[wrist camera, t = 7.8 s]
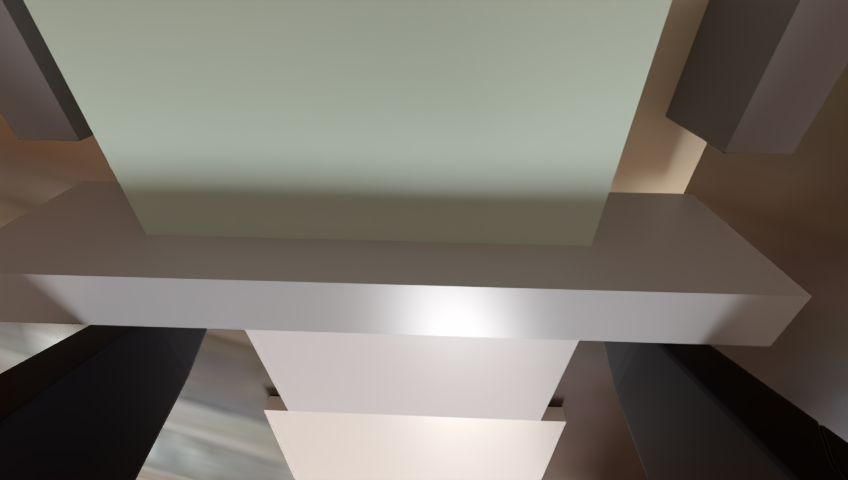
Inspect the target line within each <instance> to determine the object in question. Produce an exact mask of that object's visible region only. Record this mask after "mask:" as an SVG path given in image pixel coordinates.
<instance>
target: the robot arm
mask: <svg viewBox="0 0 848 480" xmlns="http://www.w3.org/2000/svg"><path fill="white" fill-rule="evenodd" d="M206 331H207V328H179V327H148V326H117V325H90V326H88V327H86V328H84V329H82V330H80V331H78V332H77V333H75V334H73V335H71V336H69V337H67V338H66V339H64V340H62V341H60V342H58V343H56V344H54V345H53V346H51V347H49V348H47V349H45V350H43V351H42V352H40V353H38V354H36V355H34V356H32V357H30V358H29V359H27V360H25V361H23V362H21V363H19V364H18V365H16V366H14V367H12V368H10V369H8V370H6V371H5V372H3V373H1V374H0V480H136V478H137V476H138V474H139V472H140V470H141V468H142V466H143V464H144V462H145V460H146V458H147V456H148V455H149V453H150V451H151V449H152V447H153V445H154V443H155V441H156V439H157V437H158V435H159V433H160V431H161V429H162V427H163V425H164V423H165V421H166V419H167V418H168V416H169V414H170V412H171V410H172V408H173V406H174V404H175V402H176V400H177V398H178V396H179V394H180V392H181V390H182V388H183V386H184V384H185V382H186V380H187V378H188V376H189V374H190V371H191V369H192V367H193V364H194V362H195V359H196V357H197V354H198V352H199V349H200V346H201V344H202V341H203V339H204V336H205V333H206ZM603 344H604V348H605V352H606V356H607V360H608V364H609V368H610V372H611V376H612V380H613V384H614V387H615V391H616V394H617V397H618V400H619V403H620V405H621V408H622V411H623V413H624V416H625V419H626V422H627V424H628V427H629V430H630V432H631V435H632V438H633V441H634V443H635V446H636V449H637V451H638V454H639V457H640V460H641V462H642V465H643V468H644V470H645V473H646V476H647V479H648V480H848V443H847V442H846V441H845V440H843V439H842V438H840V437H839V436H838V435H836V434H835V433H833V432H832V431H831V430H829V429H828V428H826V427H825V426H822V425H820V426H819V423H818V422H817V421H816V420H815V419H813V418H812V417H811V416H809V415H808V414H806V413H805V412H804V411H802V410H801V409H799V408H798V407H797V406H795V405H794V404H792V403H791V402H790V401H788V400H787V399H785V398H784V397H782V396H781V395H780V394H778V393H777V392H775V391H774V390H773V389H771V388H770V387H768V386H767V385H766V384H764V383H763V382H761V381H760V380H759V379H757V378H756V377H754V376H753V375H751V374H750V373H749V372H747V371H746V370H744V369H743V368H742V367H740V366H739V365H737V364H736V363H735V362H733V361H732V360H730V359H729V358H728V357H726V356H725V355H723V354H722V353H721V352H719V351H718V350H716V349H715V348H713V347H712V346H711V345H708V344H676V343H645V342H614V341H603Z"/></svg>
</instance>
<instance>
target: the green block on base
mask: <svg viewBox="0 0 848 480" xmlns="http://www.w3.org/2000/svg"><path fill="white" fill-rule="evenodd" d="M23 1H24V3H25V5H26V6H27V8H28V10H29V12H30V14H31V16H32V18H33V20H34V22H35V24H36V26H37V27H38V29H39V31H40V33H41V35H42V37H43V39H44V41H45V43H46V45H47V47H48V48H49V50H50V52H51V54H52V56H53V58H54V60H55V62H56V64H57V66H58V68H59V69H60V71H61V73H62V75H63V77H64V79H65V81H66V83H67V85H68V87H69V88H70V90H71V92H72V94H73V96H74V98H75V100H76V102H77V104H78V106H79V108H80V109H81V111H82V113H83V115H84V117H85V119H86V121H87V123H88V125H89V127H90V129H91V130H92V132H93V134H94V136H95V138H96V140H97V142H98V144H99V146H100V148H101V149H102V151H103V153H104V155H105V157H106V159H107V161H108V163H109V165H110V167H111V169H112V170H113V172H114V174H115V176H116V178H117V180H118V182H94V181H83V182H81V183H79V184H77V185H76V186H74V187H72V188H70V189H69V190H67V191H65V192H63V193H62V194H60V195H58V196H56V197H54V198H53V199H51V200H49V201H47V202H46V203H44V204H42V205H40V206H39V207H37V208H35V209H33V210H31V211H30V212H28V213H26V214H24V215H23V216H21V217H19V218H17V219H16V220H14V221H12V222H10V223H8V224H7V225H5V226H3V227H1V228H0V322H24V323H55V324H86V325H117V326H148V327H179V328H210V329H241V330H273V331H304V332H335V333H366V334H397V335H428V336H459V337H490V338H521V339H552V340H583V341H614V342H645V343H676V344H708V345H739V346H771V345H772V343H773V342H774V341H775V340H776V339H777V338H778V336H779V335H780V334H781V333H782V332H783V330H784V329H785V328H786V327H787V326H788V324H789V323H790V322H791V321H792V320H793V319H794V317H795V316H796V315H797V314H798V313H799V311H800V310H801V309H802V308H803V307H804V305H805V304H806V303H807V302H808V301H809V299H810V298H811V297H812V296H811V295H810V294H809V293H807V292H806V291H805V290H804V289H803V288H802V287H800V286H799V285H798V284H797V283H796V282H795V281H793V280H792V279H791V278H790V277H789V276H788V275H786V274H785V273H784V272H783V271H782V270H781V269H779V268H778V267H777V266H776V265H775V264H774V263H772V262H771V261H770V260H769V259H768V258H766V257H765V256H764V255H763V254H762V253H761V252H759V251H758V250H757V249H756V248H755V247H754V246H752V245H751V244H750V243H749V242H748V241H747V240H745V239H744V238H743V237H742V236H741V235H740V234H738V233H737V232H736V231H735V230H734V229H733V228H731V227H730V226H729V225H728V224H727V223H726V222H724V221H723V220H722V219H721V218H720V217H719V216H717V215H716V214H715V213H714V212H713V211H712V210H710V209H709V208H708V207H707V206H706V205H705V204H703V203H702V202H701V201H700V200H699V199H698V198H696V197H695V196H694V195H693V194H675V193H627V192H609V191H610V188H611V185H612V182H613V179H614V176H615V173H616V170H617V167H618V163H619V160H620V157H621V154H622V151H623V148H624V145H625V142H626V139H627V136H628V133H629V130H630V127H631V124H632V121H633V118H634V115H635V112H636V109H637V106H638V103H639V100H640V97H641V94H642V91H643V88H644V85H645V82H646V79H647V75H648V72H649V69H650V66H651V63H652V60H653V57H654V54H655V51H656V48H657V45H658V42H659V39H660V36H661V33H662V30H663V27H664V24H665V21H666V18H667V15H668V12H669V9H670V6H671V3H672V0H23Z"/></svg>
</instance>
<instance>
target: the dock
mask: <svg viewBox="0 0 848 480" xmlns="http://www.w3.org/2000/svg"><path fill="white" fill-rule="evenodd" d="M847 64H848V0H672V3H671V6H670V9H669V12H668V15H667V18H666V21H665V24H664V27H663V30H662V33H661V36H660V39H659V42H658V45H657V48H656V51H655V54H654V57H653V60H652V63H651V66H650V69H649V72H648V75H647V79H646V82H645V85H644V88H643V91H642V94H641V97H640V100H639V103H638V106H637V109H636V112H635V115H634V118H633V121H632V124H631V127H630V130H629V133H628V136H627V139H626V142H625V145H624V148H623V151H622V154H621V157H620V160H619V163H618V167H617V170H616V173H615V176H614V179H613V182H612V185H611V188H610V191H609V192H627V193H675V194H684V191H685V189H686V187H687V185H688V183H689V181H690V178H691V176H692V174H693V172H694V170H695V168H696V165H697V163H698V161H699V159H700V157H701V155H702V152H703V150H704V148H705V146H706V144H707V142H708V143H709V144H711V145H712V146H714V147H716V148H717V149H719V150H721V151H722V152H724V153H762V154H793V152H794V151H795V149H796V147H797V146H798V144H799V143H800V141H801V139H802V138H803V136H804V134H805V133H806V131H807V130H808V128H809V126H810V125H811V123H812V121H813V120H814V118H815V116H816V115H817V113H818V112H819V110H820V108H821V107H822V105H823V103H824V102H825V100H826V98H827V97H828V95H829V94H830V92H831V90H832V89H833V87H834V85H835V84H836V82H837V81H838V79H839V77H840V76H841V74H842V72H843V71H844V69H845V67H846V66H847ZM0 112H1V114H2V115H3V117H4V118H5V120H6V121H7V123H8V124H9V126H10V128H11V129H12V131H13V132H14V134H15V135H16V137H17V138H18V140H60V141H80V140H83V139H85V138H87V137H89V136H91V135H94V134H93V132H92V130H91V129H90V127H89V125H88V123H87V121H86V119H85V117H84V115H83V113H82V111H81V109H80V108H79V106H78V104H77V102H76V100H75V98H74V96H73V94H72V92H71V90H70V88H69V87H68V85H67V83H66V81H65V79H64V77H63V75H62V73H61V71H60V69H59V68H58V66H57V64H56V62H55V60H54V58H53V56H52V54H51V52H50V50H49V48H48V47H47V45H46V43H45V41H44V39H43V37H42V35H41V33H40V31H39V29H38V27H37V26H36V24H35V22H34V20H33V18H32V16H31V14H30V12H29V10H28V8H27V6H26V5H25V3H24V1H23V0H0ZM245 331H246V333H247V335H248V337H249V338H250V340H251V342H252V344H253V346H254V348H255V350H256V351H257V353H258V355H259V357H260V359H261V361H262V363H263V365H264V366H265V368H266V370H267V372H268V374H269V376H270V378H271V380H272V381H273V383H274V385H275V387H276V389H277V391H278V393H279V394H280V396H281V397H279V396H269V398H268V401H267V403H266V405H265V408H264V412H265V414H266V416H267V419H268V421H269V423H270V425H271V427H272V430H273V432H274V434H275V436H276V439H277V441H278V443H279V445H280V448H281V450H282V452H283V454H284V456H285V459H286V461H287V463H288V465H289V468H290V470H291V472H292V474H293V476H294V479H295V480H541V479H542V477H543V475H544V472H545V470H546V468H547V465H548V463H549V461H550V458H551V456H552V454H553V451H554V449H555V447H556V444H557V442H558V440H559V437H560V435H561V433H562V430H563V428H564V426H565V423H566V419H565V416H564V412H563V409H562V407H547V406H548V404H549V402H550V400H551V398H552V396H553V394H554V392H555V390H556V387H557V385H558V383H559V381H560V379H561V377H562V375H563V373H564V371H565V369H566V367H567V365H568V363H569V360H570V358H571V356H572V354H573V352H574V350H575V348H576V346H577V344H578V342H579V340H552V339H521V338H490V337H459V336H428V335H397V334H366V333H335V332H304V331H273V330H245Z"/></svg>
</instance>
